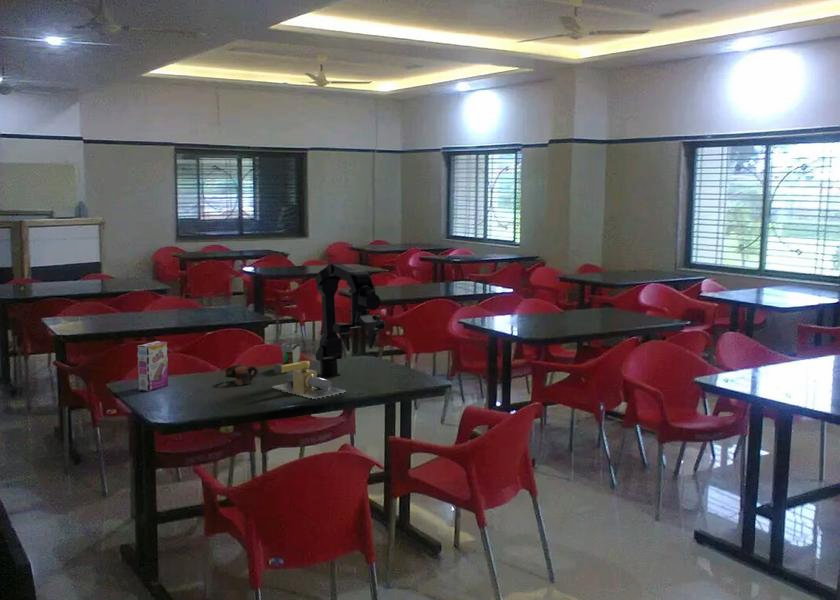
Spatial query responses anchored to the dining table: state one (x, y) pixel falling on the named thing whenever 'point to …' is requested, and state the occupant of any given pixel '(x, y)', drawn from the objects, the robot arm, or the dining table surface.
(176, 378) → the dining table surface
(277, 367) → the lever
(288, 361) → the food container
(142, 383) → the candy bar box
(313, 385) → the valve pipe
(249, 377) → the pottery mug
